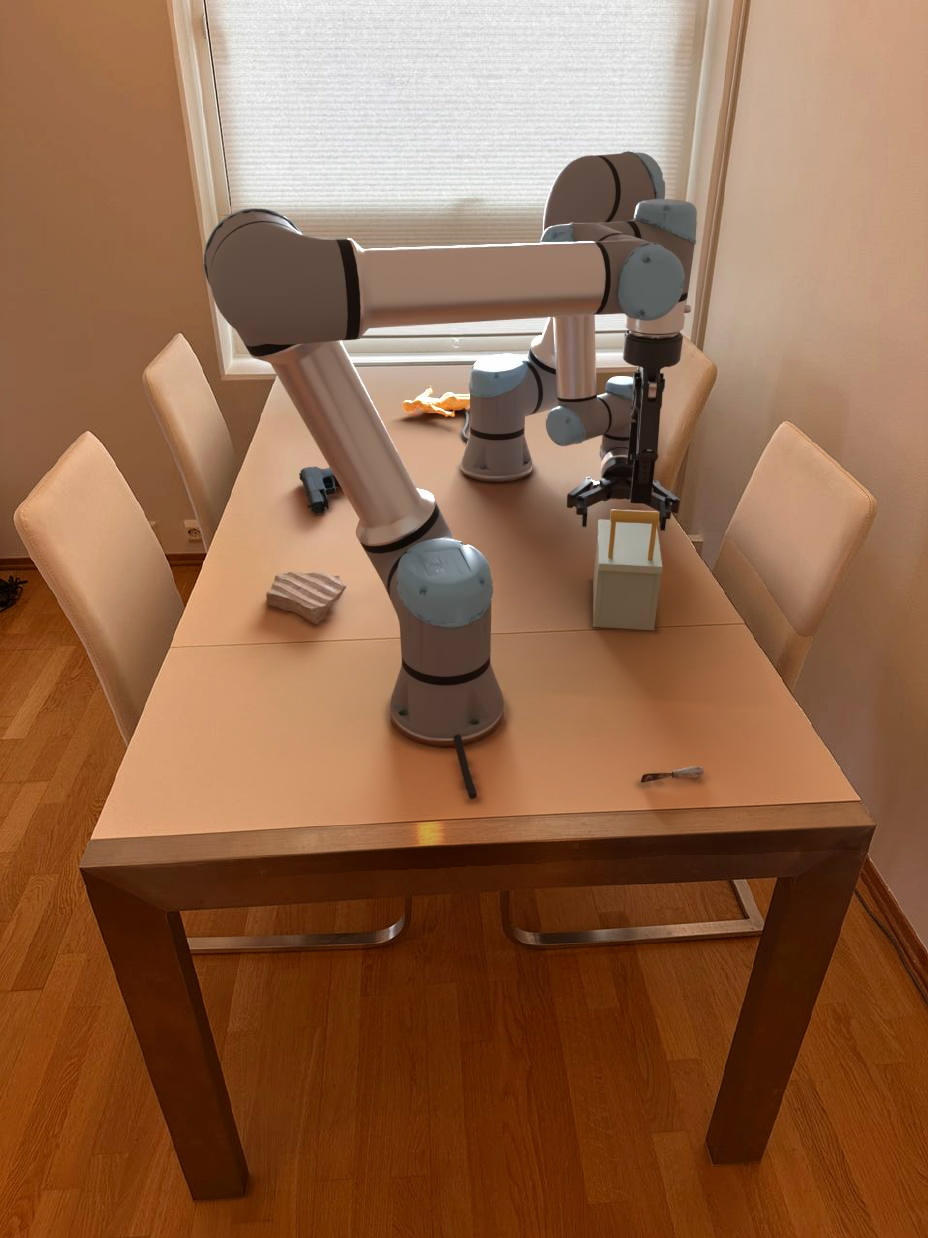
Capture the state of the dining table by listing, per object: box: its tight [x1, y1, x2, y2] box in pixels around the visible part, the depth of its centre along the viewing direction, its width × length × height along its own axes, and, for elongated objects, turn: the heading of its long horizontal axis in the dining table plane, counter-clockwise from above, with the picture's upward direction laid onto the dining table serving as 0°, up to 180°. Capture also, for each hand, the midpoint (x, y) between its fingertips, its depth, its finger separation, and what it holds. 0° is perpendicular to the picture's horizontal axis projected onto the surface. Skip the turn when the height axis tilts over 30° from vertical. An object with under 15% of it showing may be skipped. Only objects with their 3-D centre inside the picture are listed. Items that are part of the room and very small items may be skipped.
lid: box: [597, 508, 664, 575], centre depth 136 cm, size 15×9×9 cm, turn 173°
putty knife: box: [640, 765, 705, 784], centre depth 109 cm, size 1×8×2 cm, turn 103°
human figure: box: [402, 385, 470, 418], centre depth 225 cm, size 20×20×4 cm
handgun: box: [298, 466, 341, 515], centre depth 181 cm, size 3×18×12 cm
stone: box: [265, 571, 347, 625], centre depth 145 cm, size 13×12×2 cm
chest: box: [592, 529, 662, 631], centre depth 142 cm, size 14×9×10 cm, turn 173°
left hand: (638, 483), depth 127 cm, fingers open, 13 cm apart
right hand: (624, 521), depth 156 cm, fingers open, 13 cm apart
